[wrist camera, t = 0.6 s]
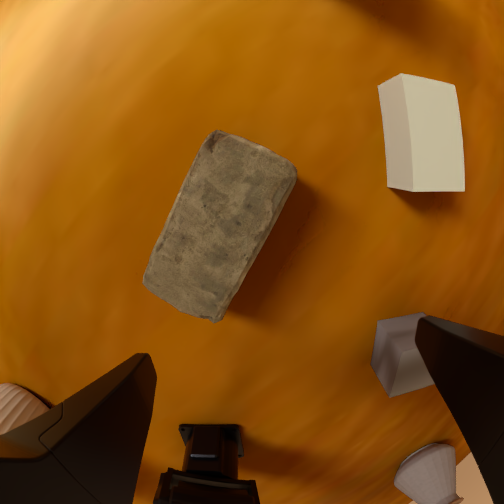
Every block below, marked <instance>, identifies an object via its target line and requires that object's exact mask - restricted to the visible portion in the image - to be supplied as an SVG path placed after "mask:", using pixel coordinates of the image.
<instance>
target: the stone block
mask: <svg viewBox="0 0 504 504" xmlns="http://www.w3.org/2000/svg"><path fill="white" fill-rule="evenodd" d="M296 180H297V169H296V167H295V166H294V165H293V164H292V163H291V162H290V161H288V160H287V159H285V158H283V157H282V156H279V155H277V154H276V153H274V152H273V151H271V150H270V149H268V148H265V147H263V146H261V145H259V144H257V143H254V142H251V141H249V140H247V139H245V138H242V137H239V136H236V135H233V134H228V133H226V132H223V131H219V130H215V131H214V132H212V133H211V134H209V135H208V137H207V138H206V139H205V140H204V142H203V144H202V146H201V148H200V149H199V151H198V153H197V155H196V157H195V159H194V161H193V163H192V165H191V167H190V169H189V171H188V173H187V176H186V178H185V180H184V182H183V184H182V186H181V189H180V191H179V193H178V195H177V197H176V200H175V202H174V204H173V207H172V209H171V211H170V214H169V216H168V218H167V220H166V223H165V225H164V228H163V230H162V232H161V234H160V236H159V238H158V240H157V242H156V244H155V246H154V248H153V251H152V253H151V256H150V259H149V263H148V265H147V268H146V271H145V273H144V276H143V283H142V284H144V285H145V286H146V288H147V289H148V290H150V291H151V292H152V293H153V294H155V295H157V296H158V297H160V298H161V299H163V300H165V301H166V302H168V303H170V304H171V305H172V306H174V307H175V308H177V309H178V310H179V311H180V312H183V313H186V314H189V315H192V316H195V317H199V318H203V319H209V320H210V321H211V322H213V323H216V322H218V321H221V320H222V319H223V317H224V315H225V312H226V310H227V308H228V306H229V304H230V302H231V300H232V299H233V297H234V295H235V293H236V292H237V291H238V290H239V288H240V286H241V284H242V282H243V280H244V278H245V276H246V274H247V272H248V271H249V269H250V267H251V266H252V264H253V262H254V260H255V259H256V257H257V255H258V253H259V251H260V250H261V248H262V246H263V244H264V243H265V241H266V239H267V237H268V235H269V233H270V232H271V230H272V228H273V226H274V224H275V222H276V220H277V218H278V216H279V215H280V212H281V210H282V208H283V206H284V204H285V202H286V200H287V198H288V197H289V195H290V193H291V191H292V189H293V187H294V185H295V183H296Z"/></svg>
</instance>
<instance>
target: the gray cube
mask: <svg viewBox="0 0 504 504" xmlns="http://www.w3.org/2000/svg"><path fill="white" fill-rule="evenodd" d="M424 316H426V315H425V314H424V313H423V312H421V313H416V314H411V315H406V316H401V317H396V318H390V319H385V320H379V321H378V323H377V330H376V336H375V342H374V348H373V354H372V359H371V364H370V365H371V366H372V368H373V370H374V371H375V373H376V375H377V377H378V378H379V380H380V382H381V384H382V386H383V387H384V389H385V391H386V393H387V394H388V396H389V398H390V397H394V396H397V395H401V394H404V393H408V392H411V391H414V390H417V389H421V388H424V387H427V386H430V385H433V384H435V383H434V382H433V380H432V378H431V376H430V374H429V372H428V370H427V368H426V366H425V363H424V361H423V359H422V357H421V355H420V353H419V351H418V349H417V347H416V344H415V334H416V328H417V323H418V320H419V318H421V317H424Z"/></svg>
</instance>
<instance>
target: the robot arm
mask: <svg viewBox="0 0 504 504" xmlns="http://www.w3.org/2000/svg"><path fill="white" fill-rule="evenodd" d="M415 344H416V347H417V349H418V351H419V353H420V355H421V357H422V359H423V361H424V363H425V366H426V368H427V370H428V372H429V374H430V376H431V378H432V380H433V382H434V383H435V385H436V387H437V388H438V390H439V392H440V394H441V395H442V397H443V399H444V401H445V402H446V404H447V406H448V408H449V410H450V411H451V413H452V415H453V417H454V419H455V421H456V423H457V424H458V426H459V428H460V430H461V432H462V434H463V436H464V438H465V440H466V442H467V444H468V446H469V448H470V450H471V452H472V454H473V456H474V458H475V461H476V463H477V465H478V467H479V469H480V472H481V474H482V476H483V479H484V481H485V483H486V486H487V488H488V490H489V493H490V496H491V498H492V501H493V503H494V504H504V336H501V335H497V334H494V333H490V332H487V331H483V330H479V329H476V328H472V327H469V326H465V325H462V324H458V323H455V322H451V321H448V320H444V319H440V318H437V317H433V316H430V315H429V316H424V317H421V318H419V320H418V323H417V328H416V334H415ZM156 382H157V375H156V371H155V368H154V365H153V363H152V360H151V357H150V355H149V354H148V353H137V354H135V355H133V356H132V357H130V358H129V359H127V360H126V361H124V362H123V363H121V364H120V365H118V366H117V367H115V368H114V369H112V370H111V371H109V372H108V373H106V374H104V375H103V376H101V377H100V378H98V379H97V380H95V381H94V382H92V383H91V384H89V385H88V386H86V387H84V388H83V389H81V390H80V391H78V392H77V393H75V394H74V395H72V396H70V397H69V398H67V399H66V400H64V401H63V402H61V403H59V404H58V405H56V406H55V407H53V408H51V409H50V410H48V411H46V412H45V413H43V414H41V415H39V416H38V417H36V418H34V419H32V420H30V421H28V422H26V423H24V424H22V425H20V426H18V427H16V428H14V429H12V430H10V431H8V432H6V433H4V434H1V435H0V504H132V503H133V498H134V493H135V488H136V483H137V478H138V473H139V469H140V464H141V460H142V456H143V451H144V447H145V443H146V439H147V434H148V430H149V426H150V422H151V418H152V412H153V404H154V396H155V389H156ZM179 432H180V434H181V436H182V439H183V441H184V443H185V446H186V449H185V455H184V461H183V467H182V471H179V470H174V469H173V468H169V467H168V471H167V472H166V473H161V476H160V480H159V485H158V488H157V491H156V494H155V497H154V500H153V504H260V501H259V496H258V492H257V487H256V482H255V480H238V458H240V457H243V456H244V451H243V446H242V441H241V435H240V430H239V426H238V425H188V424H181V425H179Z"/></svg>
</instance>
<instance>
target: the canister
mask: <svg viewBox="0 0 504 504" xmlns="http://www.w3.org/2000/svg"><path fill="white" fill-rule="evenodd" d="M48 410H50V409H49V408H48V407H47V406H46V405H45V404H44V403H43V402H42V401H41V400H39V399H38V398H37V397H36V396H34V395H33V394H32V393H30V392H28V391H27V390H26V389H23V388H22V387H20V386H18V385H15V384H11V383H4V384H0V435H1V434H4V433H6V432H8V431H10V430H12V429H14V428H16V427H18V426H20V425H22V424H24V423H26V422H28V421H30V420H32V419H34V418H36V417H38V416H39V415H41V414H43V413H45V412H46V411H48Z"/></svg>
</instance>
